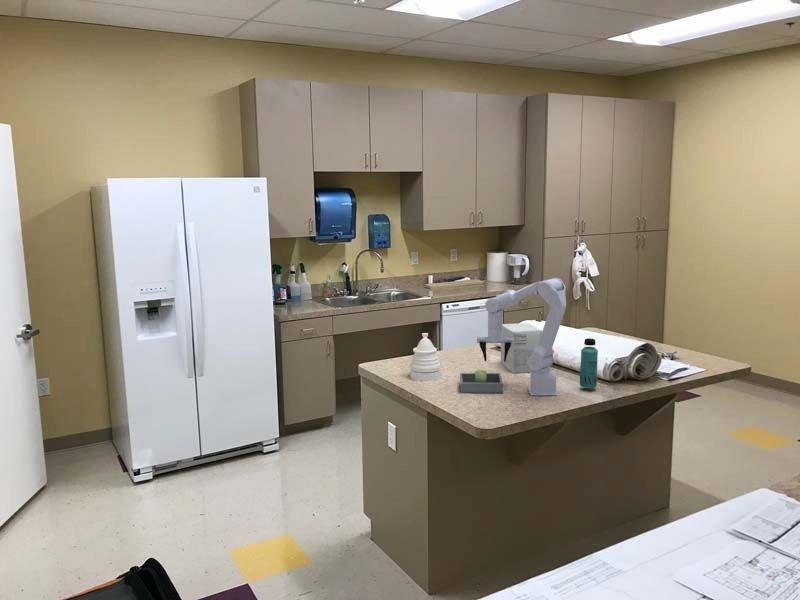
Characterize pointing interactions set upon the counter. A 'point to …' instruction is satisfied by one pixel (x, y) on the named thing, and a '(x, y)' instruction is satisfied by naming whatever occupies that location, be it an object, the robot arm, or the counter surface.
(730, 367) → the counter surface
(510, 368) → the supplement box
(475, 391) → the bin
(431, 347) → the honey pot
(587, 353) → the beverage bottle
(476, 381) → the cucumber chunk
